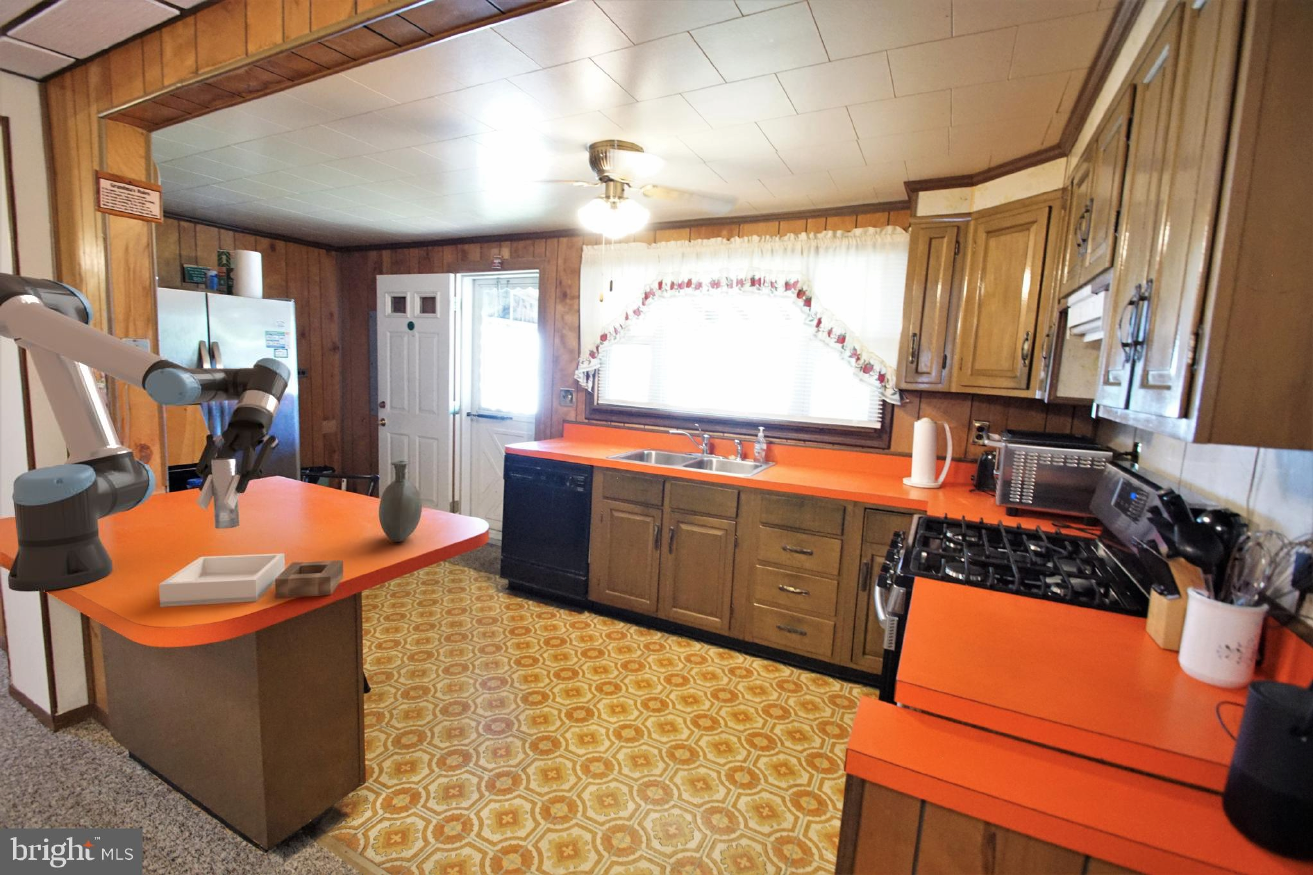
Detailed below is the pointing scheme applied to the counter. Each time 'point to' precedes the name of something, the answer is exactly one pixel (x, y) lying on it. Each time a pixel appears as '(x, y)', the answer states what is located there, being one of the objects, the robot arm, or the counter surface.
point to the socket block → (309, 579)
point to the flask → (400, 506)
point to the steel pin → (224, 492)
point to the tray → (222, 580)
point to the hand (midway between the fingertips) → (215, 505)
